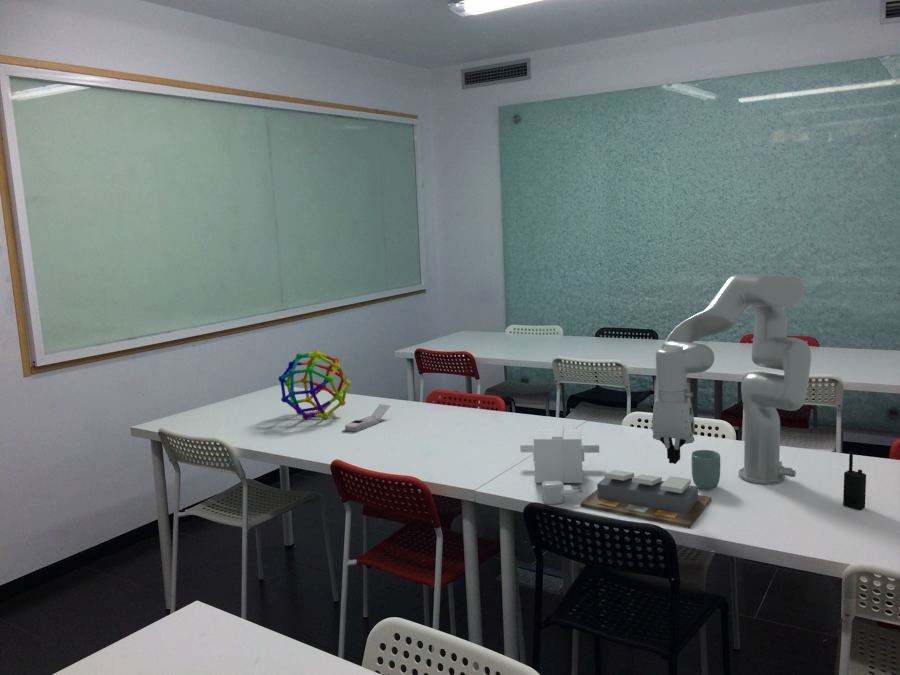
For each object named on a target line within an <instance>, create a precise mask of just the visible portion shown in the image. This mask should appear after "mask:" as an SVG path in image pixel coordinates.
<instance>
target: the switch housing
mask: <svg viewBox="0 0 900 675" xmlns="http://www.w3.org/2000/svg"><path fill="white" fill-rule="evenodd" d="M634 477H635V475H634ZM665 481H666V480H662V482H659V483H657V484H654V485H647V484H641V483H635V482H632V478H630V479H627V480H624V481H623V480H617V479H611V478H605V477H603V479H601V480H600V481H599V482H598V483H597V485H596V487H597V489H596V490H597V495H598V498H604V499H609V500H615V501H620V502H625V503H631V504H636V505H642V506H647V507H652V508H658V509H663V510H669V511H674V512H680V513H685V514H688V512H689V511H690V510H691V509H692V507H693V506H694V505H695V504H696V503H697V501H698V495H699V488H698V487H697V486H696V485H691V484H690V485H689V486H688V487H687V488H686V489H685V490H684V491H683V492H682V493H677V492H671V491H665V490H661V485H662V484H663V483H664V482H665Z"/></svg>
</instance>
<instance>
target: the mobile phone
mask: <svg viewBox="0 0 900 675" xmlns="http://www.w3.org/2000/svg"><path fill="white" fill-rule="evenodd" d="M390 407H391V405H390V404H379V405H378V406H377V407H376V409H375V410H374V411H373V413H372V414H371V415H370V416H367V417H363V418H359V419H357V420H356V419H354V420H352V421H350V422H348V423H346V424H345V426H344V429H343V430H341V432H342V433H345V432H348V431H349V432H350V431H351V432H360V431H363V430H365V429H368V428H371V427H373V426H375V425H377V424H380V423H381V422H380V421H381V418H382V417H383V416H384V415H385V414H386V412H387V411H388V410H389V408H390Z"/></svg>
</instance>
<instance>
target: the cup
mask: <svg viewBox="0 0 900 675" xmlns="http://www.w3.org/2000/svg"><path fill="white" fill-rule="evenodd" d="M691 477H692V482H693V484H694V486H697V487H698V489H700V490H706V491H708V490H714V489H716V488H717V487H718V485H719V483H720V478H721V454H720V453H719V452H718V451H715V450H709V449H700V450H694V451H692V452H691Z"/></svg>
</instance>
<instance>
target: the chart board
mask: <svg viewBox="0 0 900 675" xmlns="http://www.w3.org/2000/svg"><path fill="white" fill-rule="evenodd" d="M712 499H713V498H712V496H707V495H701V494H698V501H697V503H696V504H695V505H694V506H693V507H692V509H691V510H690V511H689V512H688V514H685V513H680V512H674V511H669V510H663V509H658V508H652V507H647V506H642V505H636V504H631V503H625V502H620V501H615V500H609V499H604V498H598V495H597V489H596V490H594V491H593V492H592V493H591V494H590V495H589V496H587V497H586V498H585V499H584V500H582V502H580V506H582V507H581V508H585V509H590V510H595V511H596V510H597V511H601V512H605V513H611V514H617V515H621V516H624V517H625V516H627V517H632V518H635V519H641V520H646V521H647V520H648V521H651V522H652V521H653V522H657V523H662V524H668V525H673V526H677V527H682V528H687V527H688V529H691V528H692V527H693V525H694V524H695V523H696V521H697V520H698V518H700V516H701V515H702V513H704V511H705V510H706V508H707V507H708V505H709V504H710V503H711V502H712ZM580 506H579V507H580Z"/></svg>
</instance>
